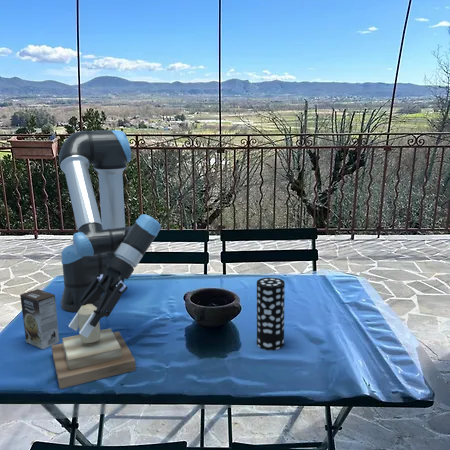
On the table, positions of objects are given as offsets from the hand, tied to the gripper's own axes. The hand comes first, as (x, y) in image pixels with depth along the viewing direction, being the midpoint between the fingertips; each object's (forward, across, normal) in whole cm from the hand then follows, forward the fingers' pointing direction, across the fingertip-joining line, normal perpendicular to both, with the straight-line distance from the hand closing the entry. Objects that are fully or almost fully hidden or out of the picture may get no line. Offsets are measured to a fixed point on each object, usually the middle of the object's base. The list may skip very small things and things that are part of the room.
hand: (77, 331), depth 125 cm
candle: (0, 0, -5) cm, 5 cm away
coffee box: (+8, +23, -7) cm, 25 cm away
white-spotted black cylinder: (-25, -31, -41) cm, 57 cm away
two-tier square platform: (+5, 0, -10) cm, 11 cm away
